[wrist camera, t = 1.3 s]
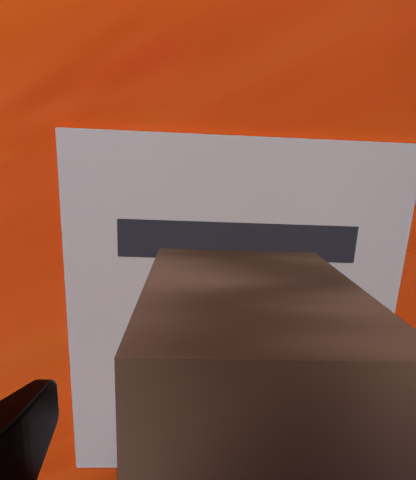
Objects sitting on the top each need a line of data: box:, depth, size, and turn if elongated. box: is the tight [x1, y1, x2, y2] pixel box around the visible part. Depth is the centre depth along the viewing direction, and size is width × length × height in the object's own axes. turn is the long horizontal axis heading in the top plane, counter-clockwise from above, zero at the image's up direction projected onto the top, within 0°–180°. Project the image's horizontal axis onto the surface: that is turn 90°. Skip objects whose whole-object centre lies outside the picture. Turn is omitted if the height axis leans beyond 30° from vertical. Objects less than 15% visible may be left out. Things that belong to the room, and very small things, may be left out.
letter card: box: [55, 127, 416, 468], centre depth 11 cm, size 11×12×1 cm
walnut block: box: [114, 248, 416, 480], centre depth 8 cm, size 5×5×6 cm
